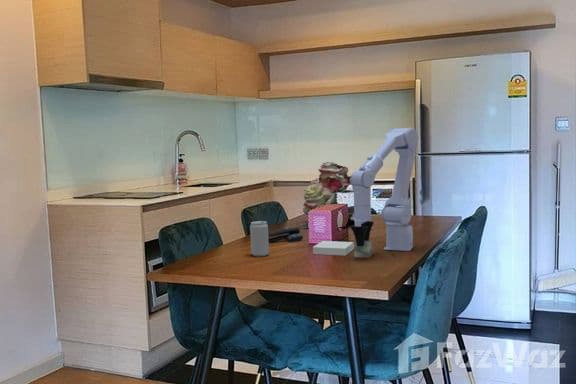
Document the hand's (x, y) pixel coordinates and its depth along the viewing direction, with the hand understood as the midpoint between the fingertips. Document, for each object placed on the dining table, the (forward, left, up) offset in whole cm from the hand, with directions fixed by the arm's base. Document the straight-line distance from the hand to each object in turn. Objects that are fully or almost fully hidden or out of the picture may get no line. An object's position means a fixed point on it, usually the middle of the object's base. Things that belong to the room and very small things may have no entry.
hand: (362, 244), depth 194 cm
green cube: (0, 0, -4) cm, 4 cm away
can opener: (+38, -19, -5) cm, 43 cm away
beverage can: (+36, +7, -4) cm, 37 cm away
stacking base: (+12, -5, -4) cm, 14 cm away
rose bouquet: (+31, -60, -5) cm, 68 cm away
